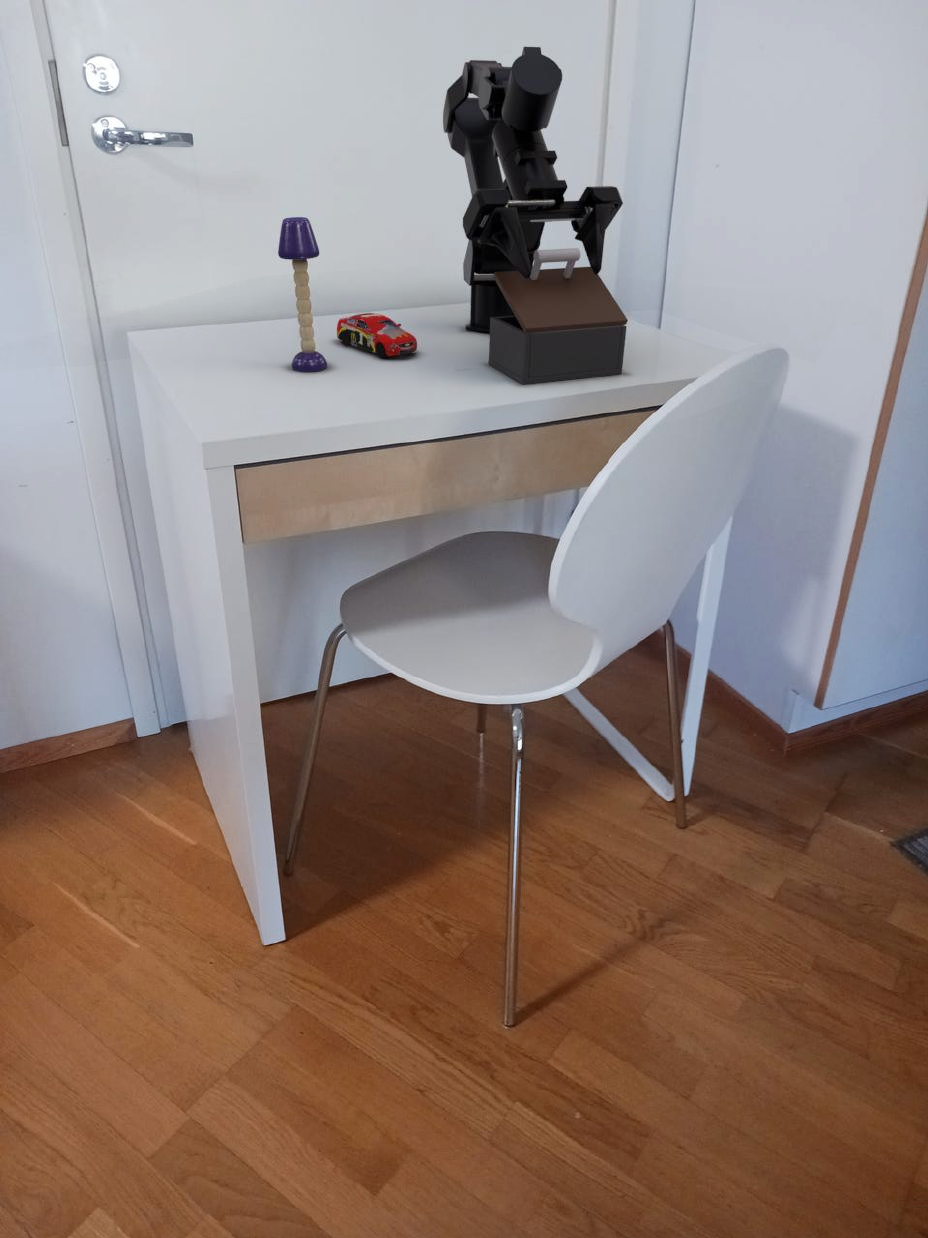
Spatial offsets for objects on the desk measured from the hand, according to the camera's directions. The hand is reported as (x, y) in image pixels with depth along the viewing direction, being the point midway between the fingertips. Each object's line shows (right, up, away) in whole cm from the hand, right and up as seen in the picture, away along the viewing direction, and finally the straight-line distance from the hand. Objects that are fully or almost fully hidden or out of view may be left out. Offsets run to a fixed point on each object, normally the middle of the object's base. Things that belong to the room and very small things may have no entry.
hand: (563, 274), depth 110 cm
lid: (0, -2, +2) cm, 3 cm away
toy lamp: (-31, -10, +5) cm, 32 cm away
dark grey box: (-1, -9, +6) cm, 11 cm away
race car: (-23, -5, +13) cm, 27 cm away
